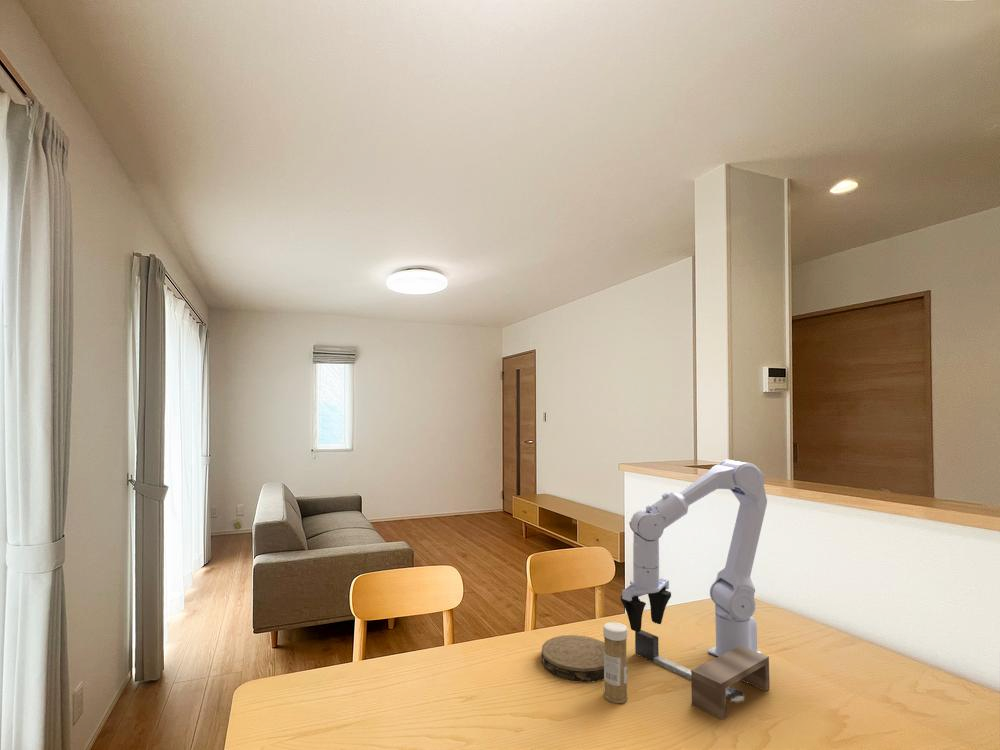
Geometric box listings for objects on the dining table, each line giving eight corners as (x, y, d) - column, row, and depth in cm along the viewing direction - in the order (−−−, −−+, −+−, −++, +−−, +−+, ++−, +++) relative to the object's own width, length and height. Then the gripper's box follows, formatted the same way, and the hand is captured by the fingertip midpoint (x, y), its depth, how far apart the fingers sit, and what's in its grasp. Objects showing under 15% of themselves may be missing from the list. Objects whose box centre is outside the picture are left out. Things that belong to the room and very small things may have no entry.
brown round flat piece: (592, 644, 123) (592, 631, 123) (629, 677, 108) (629, 662, 108) (530, 653, 118) (530, 640, 118) (560, 689, 103) (560, 673, 103)
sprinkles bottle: (632, 699, 99) (632, 627, 100) (615, 707, 96) (615, 632, 97) (615, 689, 102) (614, 619, 103) (598, 695, 100) (598, 624, 101)
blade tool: (630, 655, 117) (630, 632, 117) (644, 649, 120) (644, 627, 120) (701, 689, 103) (700, 663, 103) (714, 681, 106) (714, 656, 106)
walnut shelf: (740, 676, 108) (739, 645, 109) (769, 688, 103) (768, 656, 104) (691, 704, 97) (691, 670, 98) (721, 719, 93) (720, 683, 93)
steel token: (727, 689, 103) (727, 684, 104) (748, 699, 100) (748, 694, 100) (715, 696, 101) (715, 691, 101) (736, 707, 97) (736, 701, 97)
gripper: (651, 556, 125) (651, 613, 124) (611, 566, 117) (611, 627, 116) (676, 563, 120) (676, 623, 119) (636, 574, 111) (636, 639, 110)
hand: (646, 626), depth 117 cm, fingers open, 7 cm apart
